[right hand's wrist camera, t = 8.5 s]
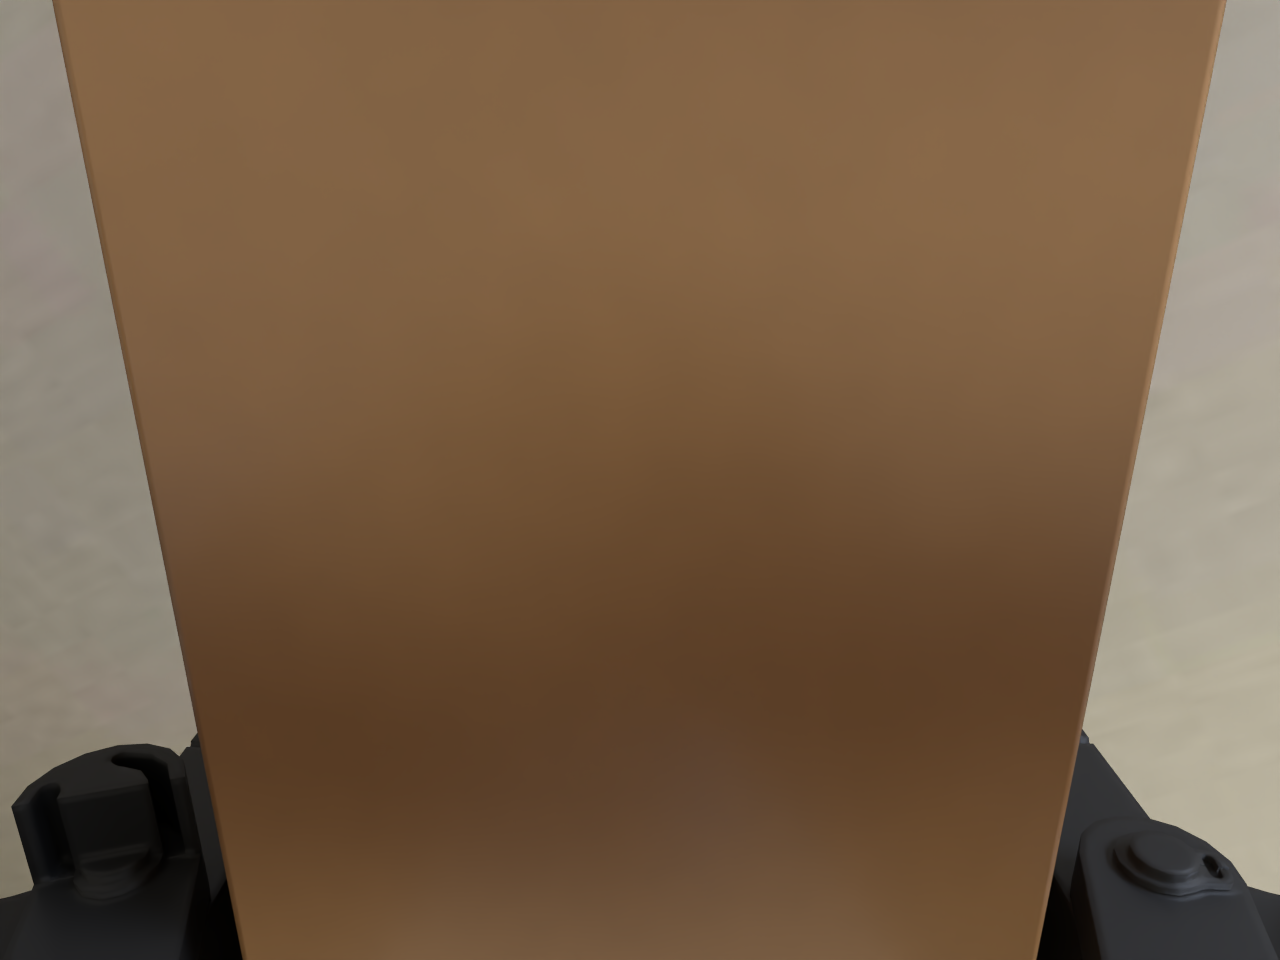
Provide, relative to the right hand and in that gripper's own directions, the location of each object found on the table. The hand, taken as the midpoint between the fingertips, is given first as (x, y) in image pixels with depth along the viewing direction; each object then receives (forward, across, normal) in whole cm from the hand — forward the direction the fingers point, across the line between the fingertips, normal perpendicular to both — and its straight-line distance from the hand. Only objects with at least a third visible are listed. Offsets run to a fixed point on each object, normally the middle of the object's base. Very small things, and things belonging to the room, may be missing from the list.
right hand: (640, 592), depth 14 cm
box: (0, 0, -9) cm, 9 cm away
